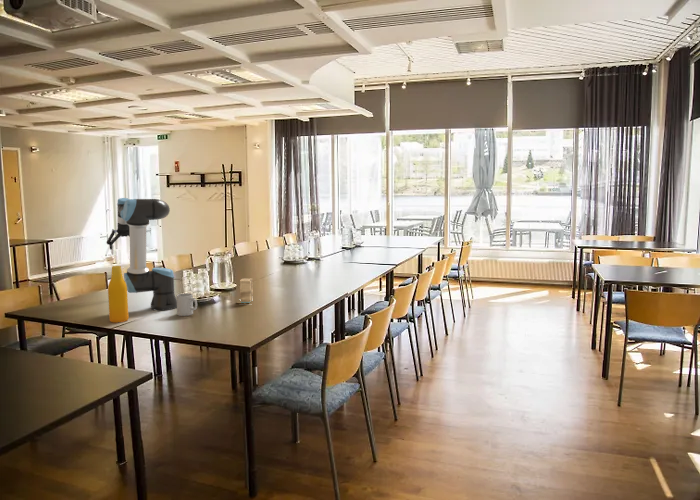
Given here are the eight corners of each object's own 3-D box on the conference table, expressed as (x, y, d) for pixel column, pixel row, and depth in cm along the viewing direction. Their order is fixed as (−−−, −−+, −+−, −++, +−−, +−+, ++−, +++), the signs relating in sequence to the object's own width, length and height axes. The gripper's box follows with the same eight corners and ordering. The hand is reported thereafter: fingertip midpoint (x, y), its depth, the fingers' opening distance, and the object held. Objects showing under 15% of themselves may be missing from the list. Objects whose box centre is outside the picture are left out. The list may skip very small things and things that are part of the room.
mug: (173, 315, 285) (173, 295, 284) (183, 311, 293) (182, 292, 292) (192, 317, 281) (191, 297, 280) (201, 313, 289) (201, 294, 288)
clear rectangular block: (250, 303, 312) (249, 280, 310) (240, 303, 312) (240, 280, 311) (252, 301, 318) (252, 278, 316) (243, 301, 318) (242, 278, 317)
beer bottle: (127, 322, 271) (124, 267, 267) (108, 323, 268) (105, 268, 264) (129, 317, 279) (127, 264, 276) (111, 319, 277) (108, 265, 273)
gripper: (143, 219, 336) (143, 249, 343) (101, 221, 322) (101, 252, 330) (146, 223, 330) (145, 254, 338) (103, 225, 316) (103, 257, 324)
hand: (123, 253), depth 334 cm, fingers open, 13 cm apart
